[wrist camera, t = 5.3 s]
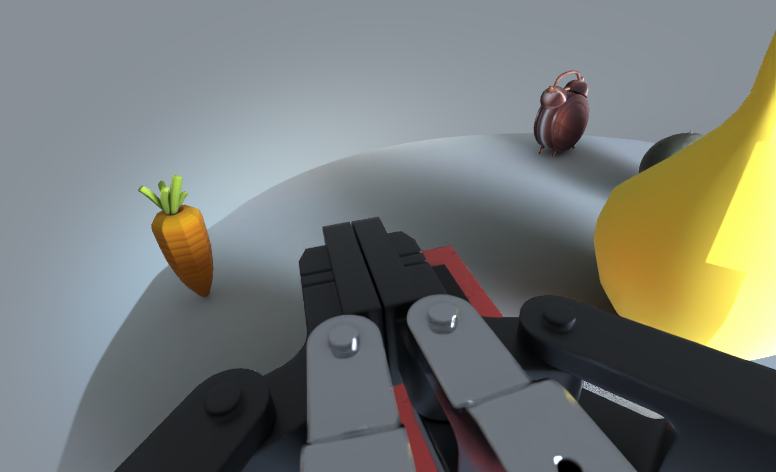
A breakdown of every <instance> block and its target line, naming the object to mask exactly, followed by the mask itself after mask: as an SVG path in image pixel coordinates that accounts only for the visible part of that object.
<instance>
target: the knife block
mask: <svg viewBox="0 0 776 472" xmlns="http://www.w3.org/2000/svg"><path fill="white" fill-rule="evenodd" d="M422 253H423V254H424V256H425V257H426V259H427V262H429V264H430V265H431V267H432V269H433V270H434V272H435V274H436V275H437V277H438V279H439V280H440V282H441V283H442V285H443V287H444V288H445V290H446V292H447V293H448V295H452V296H456V297H459V298H461V299H463V300H465V301H467V302H468V303H470V304H471V305H472V306H473V307H474V308H475V310H476V311H477V312H478V313H479V315H480V316H486V317H503V316H502V314H501V313H500V312H499V310H498V309H497V308H496V306H495V305H494V304H493V302H492V301H491V300H490V298H489V297H488V296H487V294H486V293H485V291H484V290H483V289H482V287H481V286H480V285H479V283H478V282H477V281H476V279H475V278H474V277H473V275H472V274H471V273H470V271H469V270H468V268H467V267H466V266H465V264H464V263H463V262H462V260H461V259H460V258H459V256H458V255H457V254H456V252H455V251H454V249H453V248H452V247H451V246H445V247H439V248H434V249H429V250H424V251H422ZM393 390H394V394H395V399H396V403H397V408H398V412H399V416H400V420H401V423H402V424H404V425H405V428H406V431H407V434H408V438H409V442H410V446H411V451H412V455H413V459H414V463H415V467H416V472H438V471H437V468H436V466H435V464H434V462H433V459H432V457H431V455H430V453H429V450H428V448H427V446H426V444H425V441H424V439H423V437H422V435H421V432H420V430H419V428H418V426H417V423H416V421H415V419H414V416H413V413H412V405H411V403H410V400H409V398H408V395H407V392H406V389H405V386H404V384H400V385H396V386H393Z"/></svg>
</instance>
